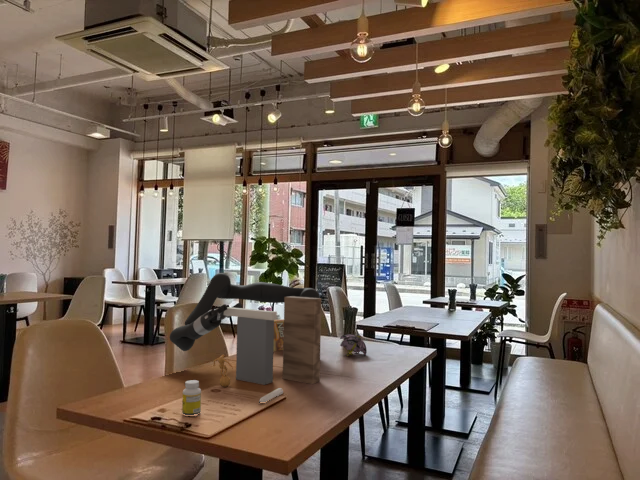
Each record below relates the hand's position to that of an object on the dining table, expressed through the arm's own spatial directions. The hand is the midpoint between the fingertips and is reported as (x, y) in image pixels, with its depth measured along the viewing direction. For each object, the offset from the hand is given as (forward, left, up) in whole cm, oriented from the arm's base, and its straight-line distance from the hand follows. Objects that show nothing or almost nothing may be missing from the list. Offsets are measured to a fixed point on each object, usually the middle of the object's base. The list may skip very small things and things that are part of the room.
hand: (233, 305), depth 194 cm
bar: (0, +8, -4) cm, 9 cm away
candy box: (-55, -18, -28) cm, 64 cm away
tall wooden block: (-11, +25, -28) cm, 39 cm away
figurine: (+14, +8, -28) cm, 33 cm away
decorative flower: (-66, +20, -28) cm, 75 cm away
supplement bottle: (+42, +21, -28) cm, 55 cm away
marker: (+16, +31, -29) cm, 45 cm away
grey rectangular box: (0, +11, -28) cm, 30 cm away
